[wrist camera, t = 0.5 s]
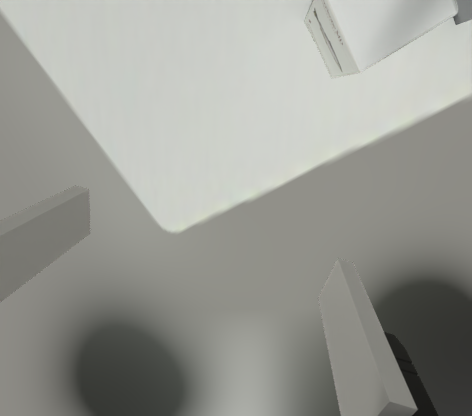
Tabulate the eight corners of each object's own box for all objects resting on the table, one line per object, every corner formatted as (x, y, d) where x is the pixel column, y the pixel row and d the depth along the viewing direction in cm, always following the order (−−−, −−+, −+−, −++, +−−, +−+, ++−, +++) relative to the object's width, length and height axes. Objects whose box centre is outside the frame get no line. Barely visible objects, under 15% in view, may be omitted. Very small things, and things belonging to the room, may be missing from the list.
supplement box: (301, 21, 30) (316, -22, 19) (366, -27, 27) (429, -111, 16) (329, 81, 32) (358, 75, 21) (392, 41, 29) (464, 10, 18)
